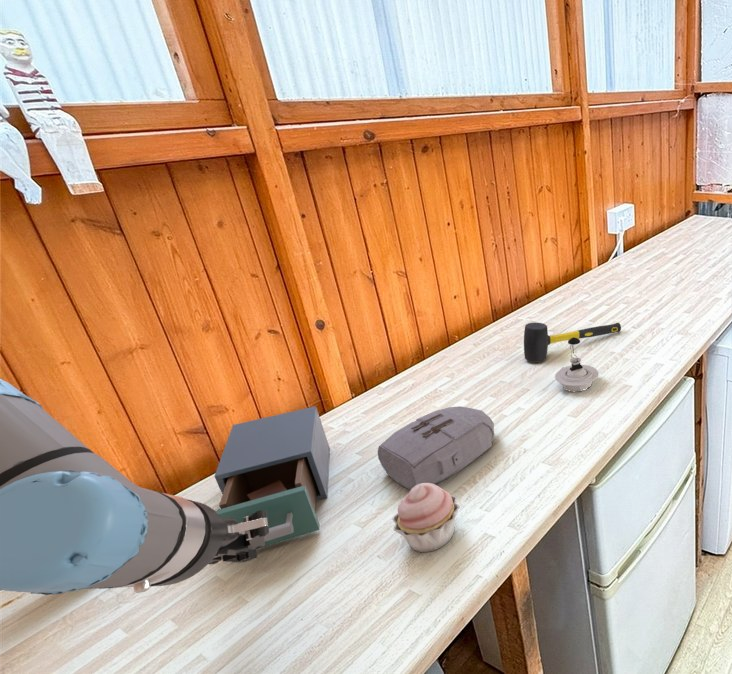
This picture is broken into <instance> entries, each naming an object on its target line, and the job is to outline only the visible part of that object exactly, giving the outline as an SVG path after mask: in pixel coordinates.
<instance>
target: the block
mask: <svg viewBox="0 0 732 674" xmlns="http://www.w3.org/2000/svg"><path fill="white" fill-rule="evenodd" d="M283 491H287V489H286V488H285V486H284V485H283V484H282V482H281V481H280V480H279V481H277V482H274V483H272V484H270V485H268V486H265V487H263V488H261V489H259V490H256V491H254V492H252V493H250V494H247V496H248V498H249V501H251V500H255V499H258V498H262V497H265V496H269V495H272V494H276V493H280V492H283Z"/></svg>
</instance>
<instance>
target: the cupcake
mask: <svg viewBox="0 0 732 674" xmlns="http://www.w3.org/2000/svg"><path fill="white" fill-rule="evenodd" d="M457 499H458V497H457V496H454V495H451V494H450V493H449V492H448V491H447V490H446V489H443V488H441V487H440V486H439V485H437V484H432V483H421V484H418V485H416V486H415V487H413V488H412V489H411V490H409V492H408V493H407V494H406V495H405V496H404V497H403V498H402V499H401V501H400V503H399V504H398V506H397V514H396V515H394V516H393V517H392V519H391V520H392V522H394V523H395V524H394V526H393V532H396V533H397V534H399V535H400V536H402V537H403V538H404V539H405V541H406V542H407V544H408V545H409V547H411V549H413V551H416V552H420V553H429V552H434V551H436V550H438V549H441V548H442V547H444V546H445V545H446V544H447V543H449V542H450V540H452V537H453V536H454V533H455V525H456V524H455V523H456V517H457V514H458V512H459V510H460V507H461V506H460V504H457Z"/></svg>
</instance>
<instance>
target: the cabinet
mask: <svg viewBox="0 0 732 674" xmlns="http://www.w3.org/2000/svg"><path fill="white" fill-rule="evenodd" d="M330 449H331V448H330V445H329V441H328V438H327V436H326V432H325V430H324V427H323V424H322V421H321V417H320V415H319V411H318V408H317V405H314V406H310V407H306V408H301V409H297V410H293V411H289V412H288V411H287V412H284V413H279V414H275V415H271V416H266V417H262V418H257V419H253V420H248V421H244V422H239V423H235V424H232V425H231V428H230V432H229V435H228V437H227V440H226V443H225V446H224V448H223V451H222V454H221V456H220V459H219V463H218V465H217V468H216V471H215V474H214V479H215V481H216V483H217V485H218V488H219V491H220V492H221V494H222V495H223V492H224V489H225V486H226V483H227V480H228V477H230V476H234V475H238V474H242V473H246V472H249V471H253V470H257V469H261V468H265V467H269V466H272V465H276V464H280V463H284V462H288V461H291V460H295V459H299V458H303V457H307V459H308V462H309V464H310V467H311V470H312V473H313V476H314V478H315V481H316V484H317V492H316V502H317V501H320V500H324V499H327V498H328V492H329V490H328V489H329V475H330V474H329V473H330V472H329V471H330V455H331V454H330V453H331V450H330Z"/></svg>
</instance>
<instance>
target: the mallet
mask: <svg viewBox="0 0 732 674" xmlns="http://www.w3.org/2000/svg"><path fill="white" fill-rule="evenodd" d="M621 331H622V325H621V323H620V322H616V323H611V324H605V325H598V326H593V327H587V328H584V329H577V330H574V331H569V332H565V333H560V334H553V335H549V331H548V325H547V324H546V323H543V322H538V321H537V322H536V321H535V322H528V323H527V324H525V326H524V333H523V356H524V359H525V360H526V361H527V362H532V363H541V362H543V361H545V360H546V359H547V357H548V349H549V346H550V345H551V344H556V343H560V342H565V341H568V340H570V339H571V338H573V337H574V338H578V339H579V340H580V339H586V338H587V339H588V338H593V337H599V336H605V335H609V334H613V333H614V334H616V333H615V332H618V333H620V332H621Z"/></svg>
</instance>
